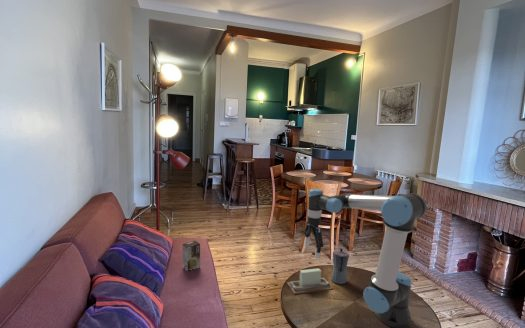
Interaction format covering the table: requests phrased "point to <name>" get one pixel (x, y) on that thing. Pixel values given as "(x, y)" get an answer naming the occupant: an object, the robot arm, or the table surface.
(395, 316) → the robot arm
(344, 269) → the moka pot
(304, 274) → the pale green block
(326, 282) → the grey rectangular tray
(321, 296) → the table surface
